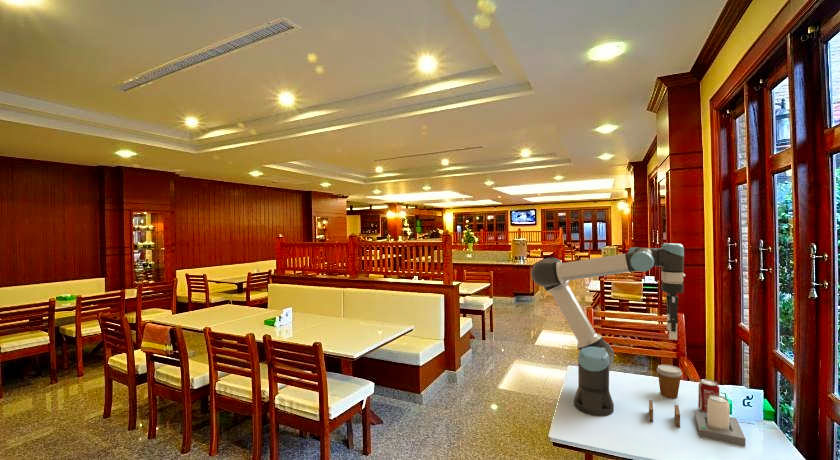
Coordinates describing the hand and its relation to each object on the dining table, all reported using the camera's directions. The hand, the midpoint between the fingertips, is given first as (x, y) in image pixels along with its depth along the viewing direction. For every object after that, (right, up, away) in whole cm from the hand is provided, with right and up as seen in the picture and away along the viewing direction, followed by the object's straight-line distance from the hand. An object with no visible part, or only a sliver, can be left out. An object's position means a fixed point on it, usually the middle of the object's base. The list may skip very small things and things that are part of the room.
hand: (671, 334), depth 162 cm
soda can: (+14, -31, -1) cm, 34 cm away
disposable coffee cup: (+7, -30, +13) cm, 34 cm away
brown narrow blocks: (-7, -31, -7) cm, 33 cm away
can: (+8, -32, -15) cm, 36 cm away
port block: (+8, -31, -15) cm, 35 cm away
